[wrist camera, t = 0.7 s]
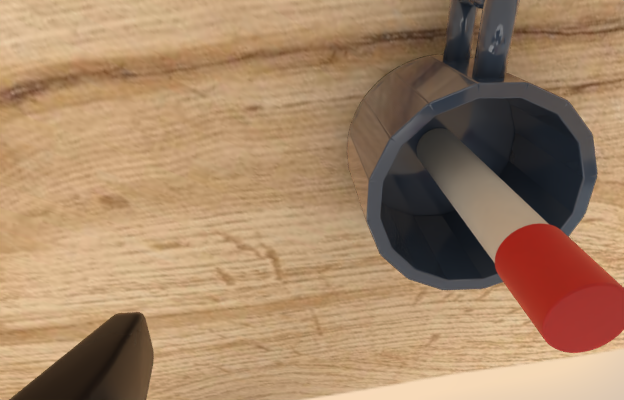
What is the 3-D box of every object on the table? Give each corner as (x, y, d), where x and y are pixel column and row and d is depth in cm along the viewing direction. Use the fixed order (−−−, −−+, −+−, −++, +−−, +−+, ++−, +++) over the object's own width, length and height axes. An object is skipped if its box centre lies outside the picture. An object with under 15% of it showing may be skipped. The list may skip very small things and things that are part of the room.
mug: (501, 217, 22) (563, 286, 17) (344, 221, 22) (361, 293, 17) (554, -26, 17) (662, -26, 12) (353, -26, 17) (382, -26, 12)
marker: (455, 168, 20) (618, 352, 10) (411, 169, 20) (534, 355, 10) (462, 125, 19) (647, 281, 9) (416, 126, 19) (555, 285, 9)
